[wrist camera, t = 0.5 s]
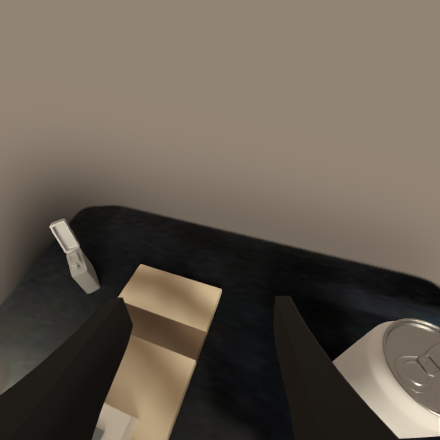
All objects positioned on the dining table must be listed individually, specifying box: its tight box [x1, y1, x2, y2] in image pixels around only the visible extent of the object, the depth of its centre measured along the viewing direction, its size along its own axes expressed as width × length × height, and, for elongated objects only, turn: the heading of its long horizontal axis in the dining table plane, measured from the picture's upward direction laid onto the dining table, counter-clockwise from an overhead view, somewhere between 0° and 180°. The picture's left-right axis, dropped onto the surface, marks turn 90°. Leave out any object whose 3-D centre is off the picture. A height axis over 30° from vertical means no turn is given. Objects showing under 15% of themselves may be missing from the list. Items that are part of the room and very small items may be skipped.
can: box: [333, 318, 440, 439], centre depth 19 cm, size 6×6×12 cm
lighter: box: [50, 219, 100, 294], centre depth 31 cm, size 7×2×8 cm, turn 34°
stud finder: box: [92, 402, 139, 440], centre depth 20 cm, size 5×6×3 cm
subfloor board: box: [105, 264, 222, 440], centre depth 24 cm, size 26×12×1 cm, turn 160°
